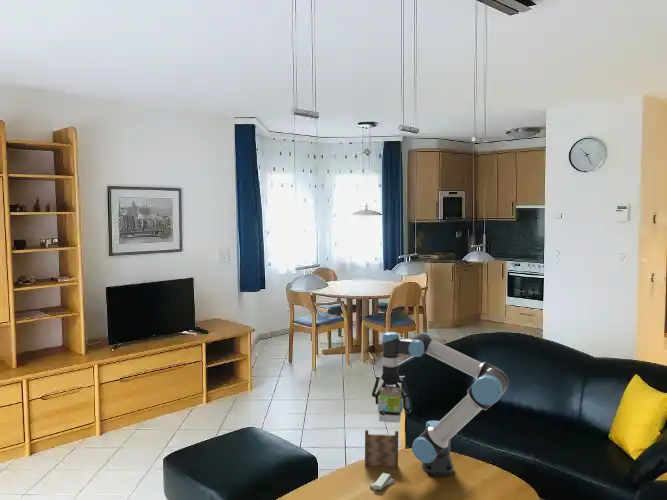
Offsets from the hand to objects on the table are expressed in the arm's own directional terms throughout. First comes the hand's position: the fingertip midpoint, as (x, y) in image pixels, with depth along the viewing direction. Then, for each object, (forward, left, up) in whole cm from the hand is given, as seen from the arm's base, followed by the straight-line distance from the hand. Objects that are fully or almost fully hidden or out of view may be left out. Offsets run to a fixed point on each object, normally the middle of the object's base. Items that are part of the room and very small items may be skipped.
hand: (390, 411), depth 263 cm
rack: (+4, -4, -29) cm, 30 cm away
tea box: (0, 0, -3) cm, 3 cm away
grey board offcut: (+4, +16, -29) cm, 33 cm away
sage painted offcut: (+4, +16, -27) cm, 32 cm away
